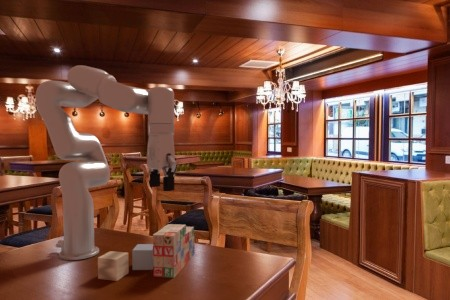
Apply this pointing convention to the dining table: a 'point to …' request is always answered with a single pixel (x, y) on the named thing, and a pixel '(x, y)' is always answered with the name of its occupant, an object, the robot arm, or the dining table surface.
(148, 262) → the bluegrey block
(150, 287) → the dining table surface
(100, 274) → the maple cube
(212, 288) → the dining table surface
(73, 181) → the robot arm
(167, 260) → the stack of blocks
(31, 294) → the dining table surface
